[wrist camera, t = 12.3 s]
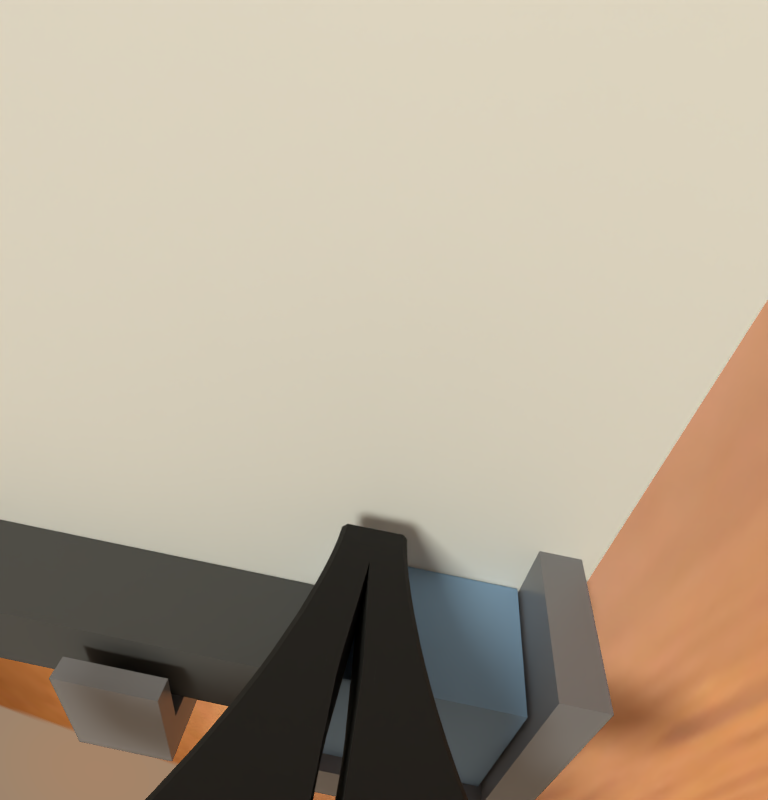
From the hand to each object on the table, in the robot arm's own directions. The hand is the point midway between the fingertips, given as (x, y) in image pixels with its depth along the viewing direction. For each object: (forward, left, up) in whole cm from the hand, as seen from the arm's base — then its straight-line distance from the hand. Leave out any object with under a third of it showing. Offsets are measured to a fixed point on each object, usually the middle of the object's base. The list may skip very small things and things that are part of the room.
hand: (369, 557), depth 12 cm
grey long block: (-4, -3, -1) cm, 6 cm away
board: (-4, +1, -2) cm, 5 cm away
